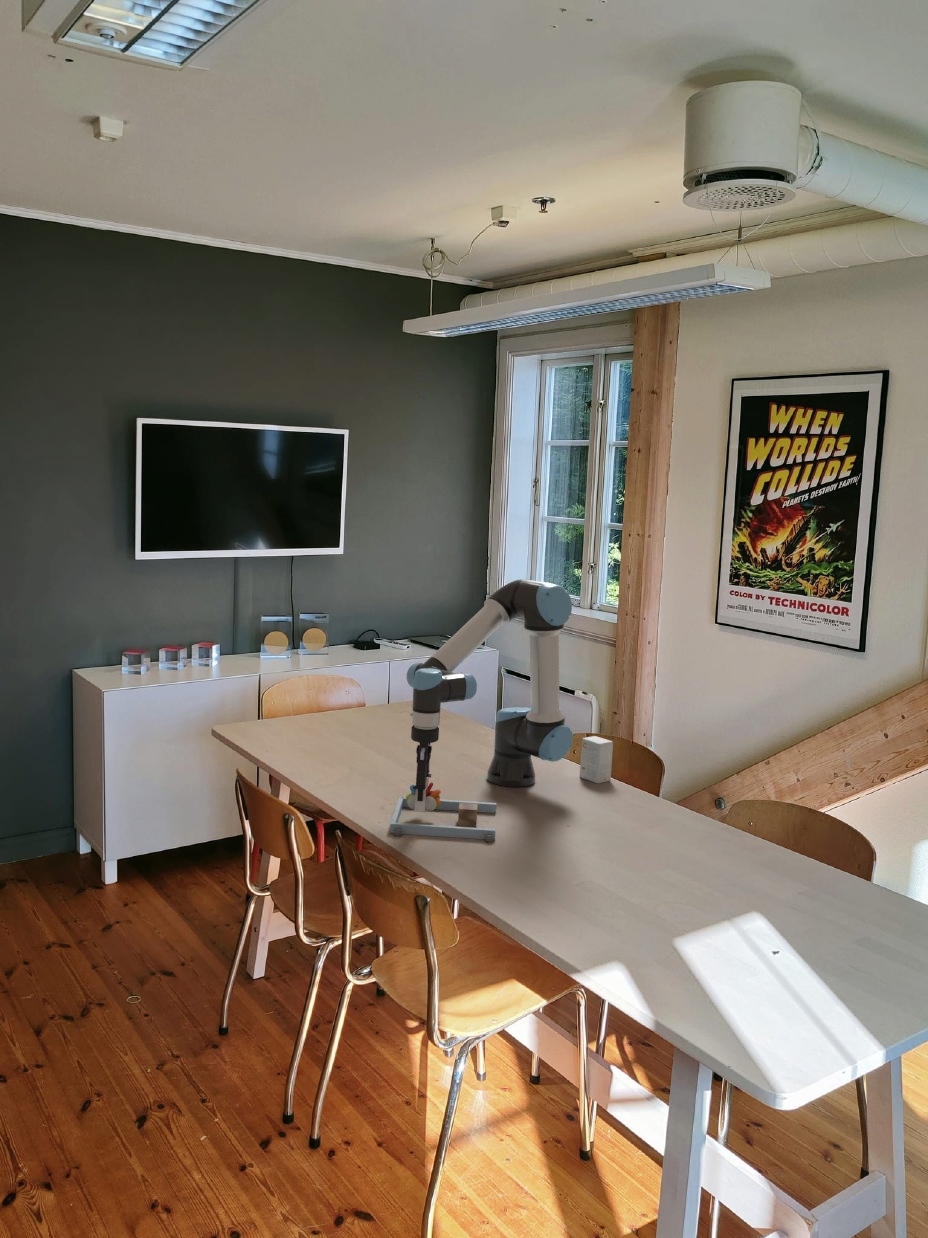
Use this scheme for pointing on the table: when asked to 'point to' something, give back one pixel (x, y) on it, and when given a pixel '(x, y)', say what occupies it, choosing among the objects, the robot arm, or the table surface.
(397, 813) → the cart frame
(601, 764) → the small box
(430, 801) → the rainbow segmented toy
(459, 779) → the table surface
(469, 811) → the walnut block
